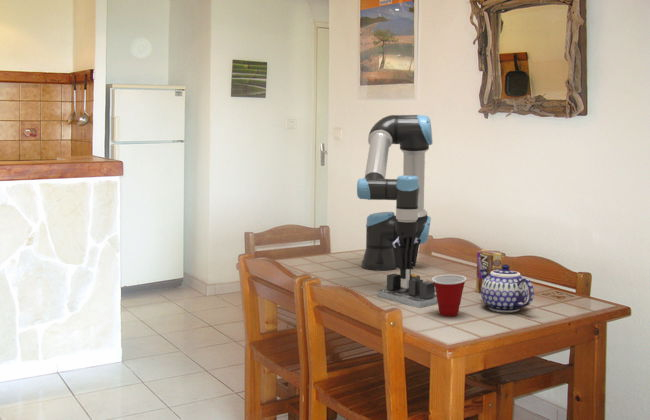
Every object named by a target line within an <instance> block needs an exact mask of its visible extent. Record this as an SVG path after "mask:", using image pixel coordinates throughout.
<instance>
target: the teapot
mask: <svg viewBox="0 0 650 420" xmlns="http://www.w3.org/2000/svg"><path fill="white" fill-rule="evenodd" d="M510 267H511V266H510V265H509V264H507V263H504V264H501V269H500V270H494V271H491V273H490V274H488V271H487V269H479V270H480V272H481V274H482V287H481V293H480V296H481V299H482V302H483V303H484V304H485V305H487V306H488V309H489V310H491V311H492V312H497V313H515V312H518V311H520V309H521V308H524V307H528V306H529V305H531V304H532V303H533V300H534V296H535V292H534V286H533V283H532V282H531V279H529V278H524V277H523V276H521V273H520V272H518V271H514V270H511V269H510Z"/></svg>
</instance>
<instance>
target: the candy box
mask: <svg viewBox="0 0 650 420" xmlns="http://www.w3.org/2000/svg"><path fill="white" fill-rule="evenodd" d="M476 254H477V257H476V258H477V259H476V278H475V279H476V280H475V281H476V282H475V292H477V293H479V294H481V287H482V274H481V272H480V270H479V269H487V271H488V274H490V273H491V271H494V270H500V269H502V257H503V256H502V255H503V254H502V253H500V252H495V251H491V250H487V249H481V250H480V249H479V250H477V253H476Z"/></svg>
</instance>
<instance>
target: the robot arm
mask: <svg viewBox="0 0 650 420" xmlns="http://www.w3.org/2000/svg"><path fill="white" fill-rule="evenodd" d="M367 142H368V144H369V148H368V153H367V159H366V165H365V171H364V173H365V174H364V177H363V178H359V179H358V180H357V183H356V196H357V198H358V199H360V200H367V201H368V200H369V201H370V200H373V201H375V200H376V201H377V200H378V201H379V200H380V201H383V200H384V201H386V200H387V201H395V203H396V204H395V212H394V211H382V212H381V211H380V212H374V213H372V214H369V215H368V216H366V225H365V227H366V228H365V229H366V231H365V233H366V237H365V238H366V239H365V240H366V241H365V243H366V244H365V245H366V246H365V251H364V254H363V258H362V260H361V268H363V269H365V270H373V271H391V270H396V269H399V270H400V274H399V275H400V278H401V287H402V288H406V289H407V288H409V280H410V277H411V274H412V270H414V267H415V266H416V263H417V258H418V253H419V248H420V245H423V244H426V243H427V241H428V239H429V233H430V225H431V220H432V218H431V216H430V215H428V211H427V210H426V208H425V168H426V167H425V165H426V164H425V163H426V161H425V159H426V153H427V152H428V150H429V149H430V146H432V145H433V132H432V123H431V118H430V117H429V116H428V115H423V114H422V115H421V114H401V115H399V114H397V115H396V114H391V115H387V116H385V117H382V118H381V119H379V120H378V121H377V122H375V123H374V125H373V126H372V127H371V129H370V131H369V134H368V139H367ZM392 145H399V150H400V151H401V152H402V153H403V162H402V163H403V165H402V167H403V170H402V171H403V174H402V175H399V176H397V178H386V174H387V166H388V159H389V158H388V157H389V152H390V151H389V149H390V147H391V146H392Z"/></svg>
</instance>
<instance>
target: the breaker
mask: <svg viewBox="0 0 650 420" xmlns="http://www.w3.org/2000/svg"><path fill="white" fill-rule="evenodd" d="M412 279H421V276H420V275H418V274H415V273H411V277H410V280H412ZM406 290H408V291H409V288H407V289H406Z"/></svg>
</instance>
